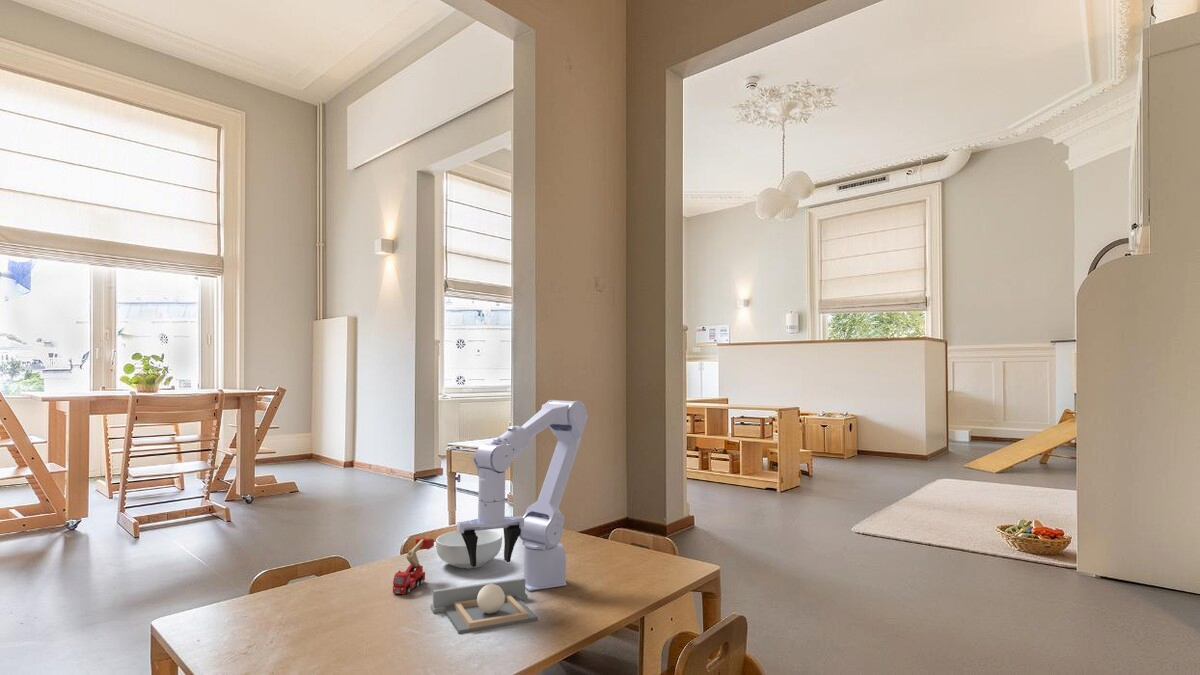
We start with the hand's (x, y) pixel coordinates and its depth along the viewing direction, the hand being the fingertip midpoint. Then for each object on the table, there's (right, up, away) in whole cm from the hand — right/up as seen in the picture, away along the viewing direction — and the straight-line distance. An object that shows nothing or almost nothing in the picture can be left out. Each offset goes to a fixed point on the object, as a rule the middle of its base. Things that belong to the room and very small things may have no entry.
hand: (490, 563), depth 135 cm
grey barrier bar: (-2, -8, -1) cm, 9 cm away
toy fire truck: (-20, -9, +9) cm, 23 cm away
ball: (+2, -5, -8) cm, 9 cm away
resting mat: (+1, -8, -8) cm, 11 cm away
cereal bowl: (-10, -10, +26) cm, 30 cm away
